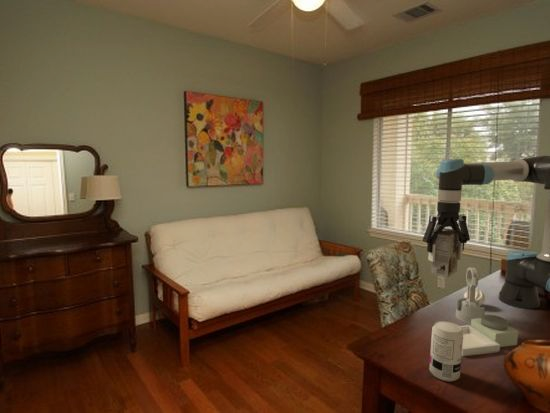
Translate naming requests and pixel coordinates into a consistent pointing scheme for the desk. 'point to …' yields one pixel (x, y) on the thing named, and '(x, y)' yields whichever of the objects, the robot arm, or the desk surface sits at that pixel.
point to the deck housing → (487, 335)
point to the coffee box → (446, 253)
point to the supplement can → (446, 351)
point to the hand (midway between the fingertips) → (444, 259)
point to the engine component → (470, 299)
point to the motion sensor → (478, 296)
